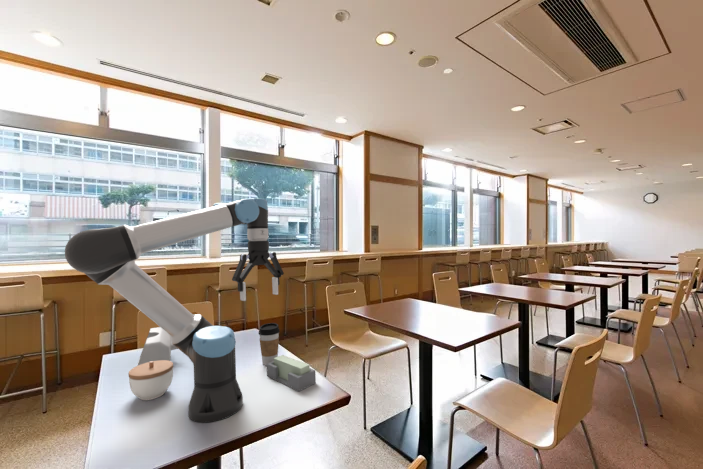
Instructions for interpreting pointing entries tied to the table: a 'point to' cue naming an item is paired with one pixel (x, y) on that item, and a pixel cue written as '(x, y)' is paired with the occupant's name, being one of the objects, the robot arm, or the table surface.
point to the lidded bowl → (151, 379)
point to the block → (290, 366)
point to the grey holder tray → (292, 378)
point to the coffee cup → (269, 342)
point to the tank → (156, 346)
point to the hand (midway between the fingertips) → (259, 297)
